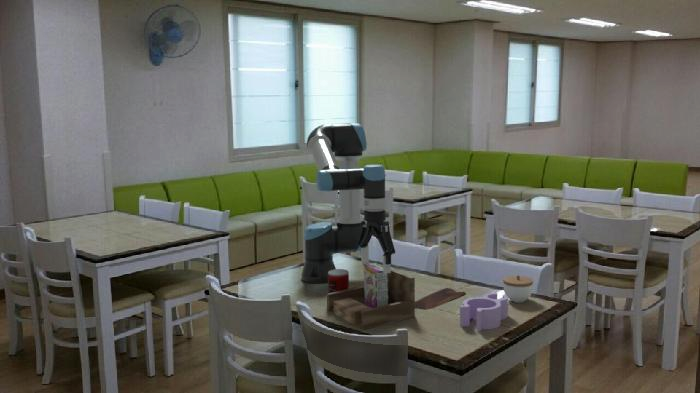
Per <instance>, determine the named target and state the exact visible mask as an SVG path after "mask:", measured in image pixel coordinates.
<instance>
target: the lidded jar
mask: <svg viewBox="0 0 700 393" xmlns="http://www.w3.org/2000/svg"><path fill="white" fill-rule="evenodd" d="M502 282H503V292H504V295H507V296H508V300H509V299H510V300H511V302H512V301H514V302H513V303H525V302H527V300H528V299H529V298H530V297H531V295H532V294H533V293H532V292H533V287H534V280H533V279H532V278H531V277H527V276H524V275H519V274H517V275H508V276H506V277H504V278H503V281H502ZM510 300H509V301H510ZM524 301H525V302H524Z"/></svg>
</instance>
